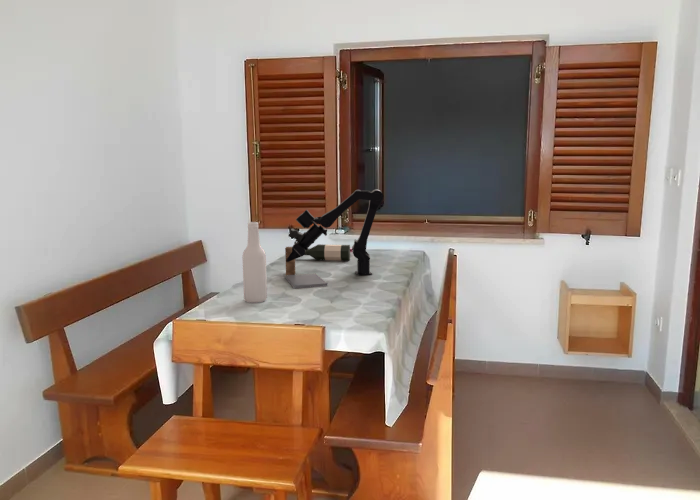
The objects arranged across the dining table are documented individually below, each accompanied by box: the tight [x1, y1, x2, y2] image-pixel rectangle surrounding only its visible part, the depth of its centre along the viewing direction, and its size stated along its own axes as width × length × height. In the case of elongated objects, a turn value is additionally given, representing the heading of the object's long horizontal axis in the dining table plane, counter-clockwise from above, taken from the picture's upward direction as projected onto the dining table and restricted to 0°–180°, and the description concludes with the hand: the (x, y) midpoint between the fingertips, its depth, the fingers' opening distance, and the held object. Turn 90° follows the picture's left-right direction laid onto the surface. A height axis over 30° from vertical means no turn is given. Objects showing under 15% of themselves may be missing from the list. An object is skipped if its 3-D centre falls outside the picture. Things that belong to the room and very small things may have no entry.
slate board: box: [284, 272, 328, 289], centre depth 247 cm, size 20×14×1 cm
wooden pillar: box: [284, 246, 296, 275], centre depth 261 cm, size 4×4×12 cm
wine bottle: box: [303, 243, 351, 262], centre depth 295 cm, size 8×8×30 cm
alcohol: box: [241, 221, 268, 304], centre depth 216 cm, size 9×9×30 cm
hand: (287, 259), depth 261 cm, fingers open, 9 cm apart
